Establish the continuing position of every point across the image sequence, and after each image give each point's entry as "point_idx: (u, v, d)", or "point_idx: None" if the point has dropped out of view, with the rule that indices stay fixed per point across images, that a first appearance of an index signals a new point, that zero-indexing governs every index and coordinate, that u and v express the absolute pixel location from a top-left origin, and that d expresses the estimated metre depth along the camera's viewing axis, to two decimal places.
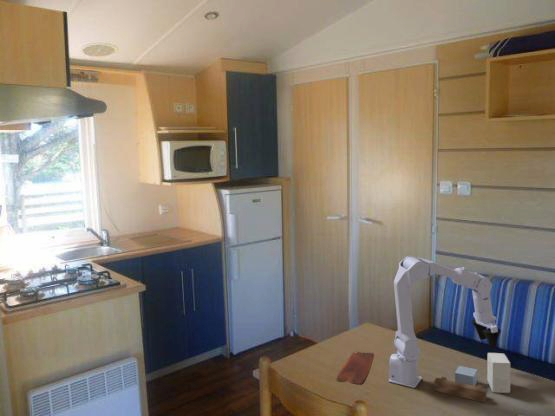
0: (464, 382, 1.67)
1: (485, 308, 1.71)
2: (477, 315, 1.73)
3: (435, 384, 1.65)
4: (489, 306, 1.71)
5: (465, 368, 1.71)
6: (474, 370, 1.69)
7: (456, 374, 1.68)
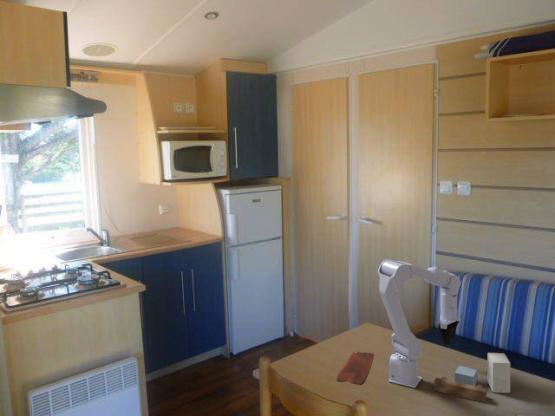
0: (464, 382, 1.67)
1: (453, 305, 1.75)
2: None
3: (435, 384, 1.65)
4: (456, 303, 1.76)
5: (465, 368, 1.71)
6: (474, 370, 1.69)
7: (456, 374, 1.68)
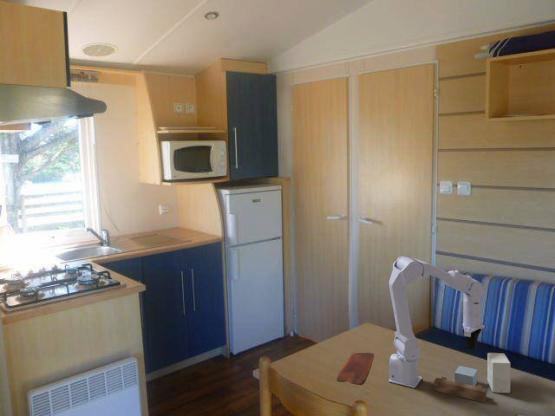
0: (464, 382, 1.67)
1: (474, 312, 1.71)
2: (463, 317, 1.75)
3: (435, 384, 1.65)
4: (478, 311, 1.71)
5: (465, 368, 1.71)
6: (474, 370, 1.69)
7: (456, 374, 1.68)
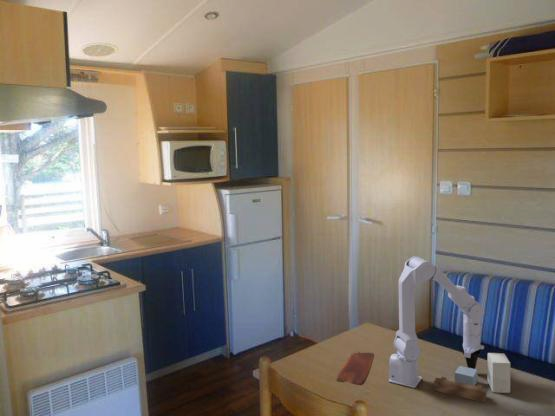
0: (464, 382, 1.67)
1: (474, 333, 1.72)
2: (463, 337, 1.76)
3: (435, 384, 1.65)
4: (478, 332, 1.72)
5: (465, 368, 1.71)
6: (474, 370, 1.69)
7: (456, 374, 1.68)
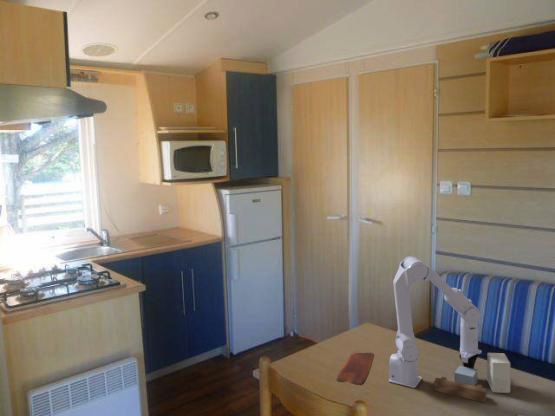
0: (463, 382, 1.67)
1: (470, 338, 1.68)
2: (460, 342, 1.72)
3: (435, 384, 1.65)
4: (475, 336, 1.68)
5: (465, 368, 1.71)
6: (474, 370, 1.69)
7: (456, 374, 1.68)
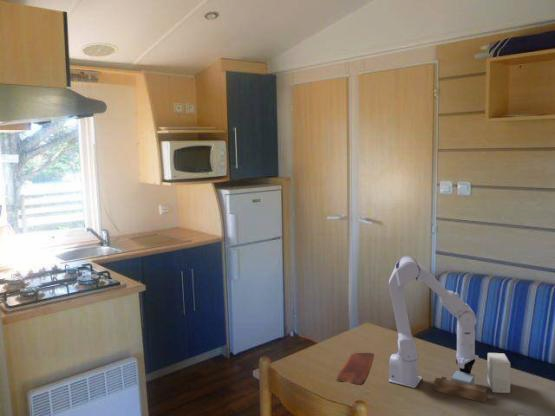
0: None
1: (465, 342, 1.65)
2: (457, 347, 1.68)
3: (435, 384, 1.65)
4: (470, 342, 1.64)
5: (462, 373, 1.67)
6: (471, 375, 1.65)
7: (452, 379, 1.64)
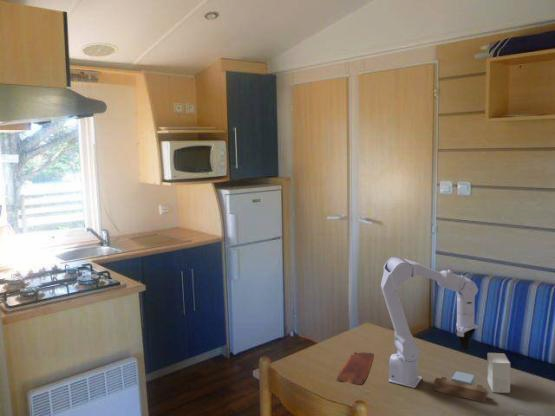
0: None
1: (467, 312, 1.69)
2: (457, 317, 1.73)
3: (435, 384, 1.65)
4: (472, 311, 1.69)
5: (462, 374, 1.67)
6: (471, 376, 1.65)
7: (453, 380, 1.64)
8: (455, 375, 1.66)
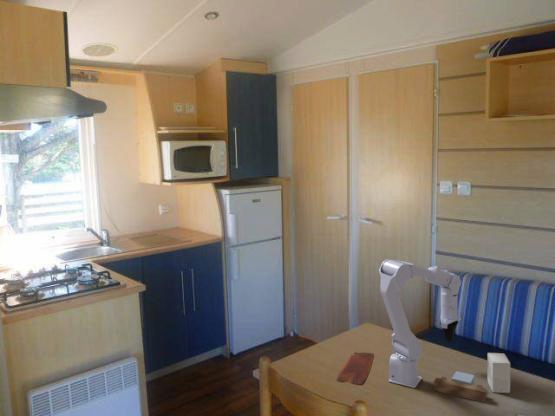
0: None
1: (453, 305, 1.75)
2: (441, 309, 1.79)
3: (435, 384, 1.65)
4: (456, 303, 1.76)
5: (462, 374, 1.67)
6: (471, 376, 1.65)
7: (453, 380, 1.64)
8: (455, 375, 1.66)
